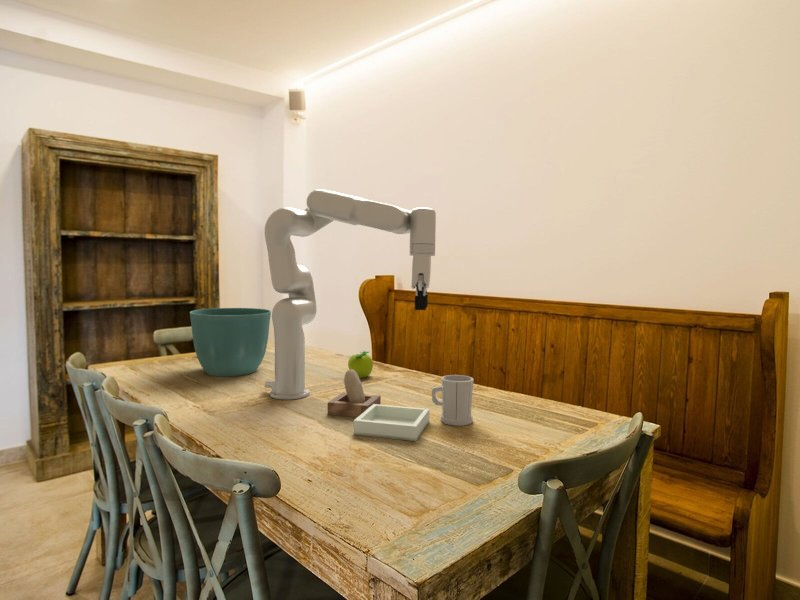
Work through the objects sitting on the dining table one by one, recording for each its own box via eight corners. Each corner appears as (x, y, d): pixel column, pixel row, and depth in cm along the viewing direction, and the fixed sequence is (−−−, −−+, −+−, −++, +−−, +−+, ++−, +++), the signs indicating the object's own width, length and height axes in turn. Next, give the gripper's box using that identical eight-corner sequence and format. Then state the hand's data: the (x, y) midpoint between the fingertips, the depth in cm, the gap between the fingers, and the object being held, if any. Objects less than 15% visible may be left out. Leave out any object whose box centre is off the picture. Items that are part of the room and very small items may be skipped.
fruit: (377, 377, 192) (377, 351, 191) (362, 381, 184) (363, 354, 183) (358, 374, 197) (358, 349, 196) (343, 378, 189) (343, 352, 188)
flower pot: (258, 381, 181) (258, 315, 180) (176, 380, 182) (175, 313, 180) (279, 365, 211) (279, 308, 210) (208, 364, 212) (208, 307, 210)
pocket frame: (327, 414, 142) (327, 402, 142) (343, 403, 154) (343, 392, 153) (367, 418, 139) (367, 405, 139) (380, 406, 151) (380, 395, 150)
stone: (362, 414, 143) (362, 372, 142) (341, 412, 144) (341, 371, 143) (367, 408, 149) (368, 368, 148) (347, 407, 150) (347, 367, 149)
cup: (446, 428, 131) (447, 383, 130) (428, 419, 139) (429, 376, 138) (479, 423, 136) (480, 380, 135) (460, 414, 144) (461, 373, 143)
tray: (353, 434, 125) (353, 420, 125) (373, 416, 141) (373, 404, 140) (415, 441, 121) (416, 426, 121) (429, 421, 137) (429, 409, 136)
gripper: (411, 251, 157) (411, 306, 158) (407, 249, 139) (406, 310, 141) (435, 251, 156) (434, 306, 157) (434, 249, 139) (433, 311, 140)
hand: (421, 308), depth 149 cm, fingers open, 9 cm apart
